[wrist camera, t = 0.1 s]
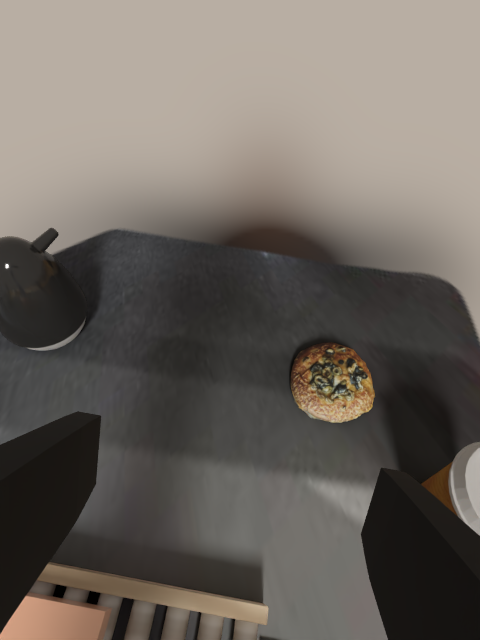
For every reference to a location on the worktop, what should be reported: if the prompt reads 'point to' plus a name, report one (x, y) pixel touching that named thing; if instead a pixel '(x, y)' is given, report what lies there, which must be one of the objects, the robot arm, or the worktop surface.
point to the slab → (56, 620)
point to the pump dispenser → (38, 295)
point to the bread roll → (331, 383)
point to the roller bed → (154, 604)
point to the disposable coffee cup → (460, 486)
